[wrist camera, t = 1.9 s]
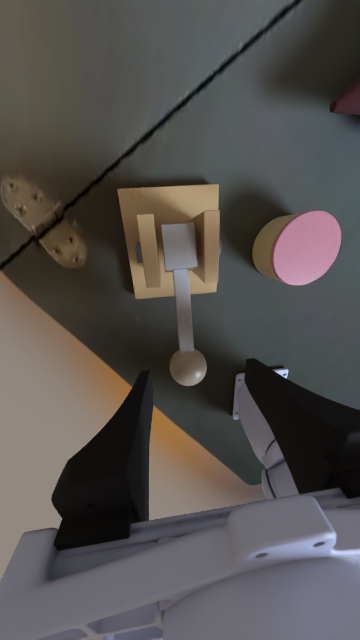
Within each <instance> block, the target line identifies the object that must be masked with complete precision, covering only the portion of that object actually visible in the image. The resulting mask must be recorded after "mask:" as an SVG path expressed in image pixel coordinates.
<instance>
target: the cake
mask: <svg viewBox="0 0 360 640" xmlns="http://www.w3.org/2000/svg"><path fill="white" fill-rule="evenodd" d="M340 244H341V231H340V227H339V224H338V222H337V221H336V219H335V218H334V217H333V216H332V215H330V214H329V213H327V212H324V211H309V212H303V213H298V214H292V215H287V216H281V217H278V218H275V219H273V220H272V221H270V222H269V223H267V224H266V225H265V226H264V227H263V228H262V229H261V231H260V232H259V234H258V235H257V237H256V239H255V242H254V245H253V250H252V257H253V262H254V265H255V267H256V269H257V270H258V271H259V272H260V273H261V274H262V275H264V276H267V277H269V278H272V279H275V280H278V281H281V282H284V283H287V284H290V285H304V284H308V283H310V282H313V281H314V280H316V279H318V278H319V277H320V276H322V275H323V274H324V273H325V272H326V271H327V270H328V269H329V268H330V266H331V265H332V263H333V262H334V260H335V258H336V256H337V254H338V251H339V248H340Z"/></svg>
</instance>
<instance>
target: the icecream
mask: <svg viewBox="0 0 360 640" xmlns="http://www.w3.org/2000/svg"><path fill="white" fill-rule="evenodd" d="M330 112H333V113H339V114H352V115H360V76H359V77H358V78H357V79H356V80H355V81H354V82H353V83H352V84H351V85H350V86H349V87H348V88H347V89H345V90H344V91H343V92H342V93H341V94H340V95H339V96H338V97H337V98H336V99H335V100H334V101H333V102H332V103H331V105H330Z"/></svg>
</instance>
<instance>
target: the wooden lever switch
mask: <svg viewBox="0 0 360 640" xmlns="http://www.w3.org/2000/svg"><path fill="white" fill-rule="evenodd" d="M218 190H219V184H208V185H187V186H166V187H145V188H124V189H117V191H118V197H119V203H120V209H121V215H122V221H123V227H124V233H125V239H126V244H127V250H128V256H129V262H130V268H131V274H132V280H133V286H134V292H135V298H136V299H143V298H154V297H165V296H175V295H174V284H173V273H172V272H165V266H164V256H163V246H162V234H161V225H166V224H183V223H194V225H195V240H196V254H197V267H196V268H194V269H193V270H190V271H188V274H189V287H190V294H199V293H210V292H216V285H217V282H218V264H219V256H220V253H221V240H220V238H219V223H220V210H218Z"/></svg>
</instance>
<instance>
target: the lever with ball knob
mask: <svg viewBox="0 0 360 640" xmlns="http://www.w3.org/2000/svg"><path fill="white" fill-rule="evenodd" d="M161 234H162V246H163V256H164V266H165V272H172V273H173V284H174V295H175V306H176V317H177V328H178V339H179V350H178V351H177V352H175V354H174V355H173V356H172V358H171V360H170V373H171V375H172V377H173V378H174V380H175V381H176V382H178V383H179V384H181V385H185V386H192V385H195V384H197V383H199V382H200V381H201V380H202V379H203V378H204V376H205V374H206V370H207V364H206V360H205V358H204V356H203V355H202V354H201V353H200V352H199V351H198V350H196V349H194V340H193V327H192V313H191V300H190V287H189V274H188V271H190V270H193V269H194V268H196V267H197V254H196V240H195V225H194V223H183V224H166V225H161Z"/></svg>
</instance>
